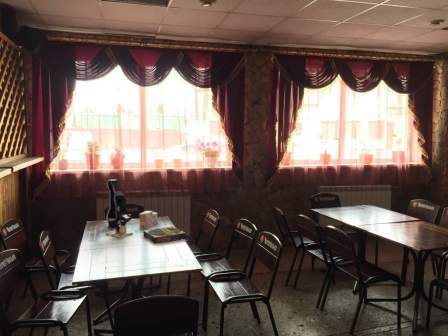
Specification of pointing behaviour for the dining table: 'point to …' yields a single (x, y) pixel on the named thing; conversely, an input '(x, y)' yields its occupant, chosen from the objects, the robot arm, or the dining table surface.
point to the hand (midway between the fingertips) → (120, 231)
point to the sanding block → (121, 229)
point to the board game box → (164, 234)
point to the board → (119, 234)
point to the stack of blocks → (148, 219)
